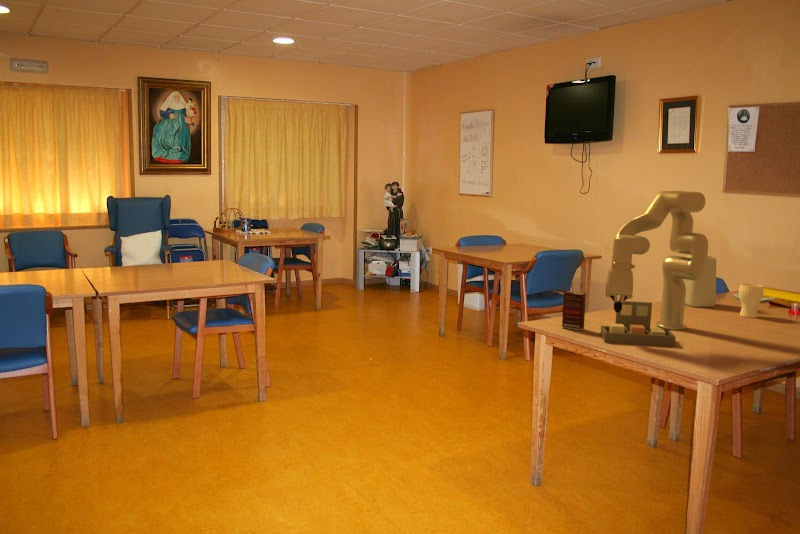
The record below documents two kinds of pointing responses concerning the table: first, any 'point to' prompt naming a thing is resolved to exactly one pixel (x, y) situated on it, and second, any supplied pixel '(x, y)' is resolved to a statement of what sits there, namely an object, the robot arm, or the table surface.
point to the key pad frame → (638, 337)
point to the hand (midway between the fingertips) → (617, 311)
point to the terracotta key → (637, 329)
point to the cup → (750, 299)
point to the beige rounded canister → (702, 287)
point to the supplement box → (573, 310)
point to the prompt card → (634, 314)
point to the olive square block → (657, 332)
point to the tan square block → (617, 328)
